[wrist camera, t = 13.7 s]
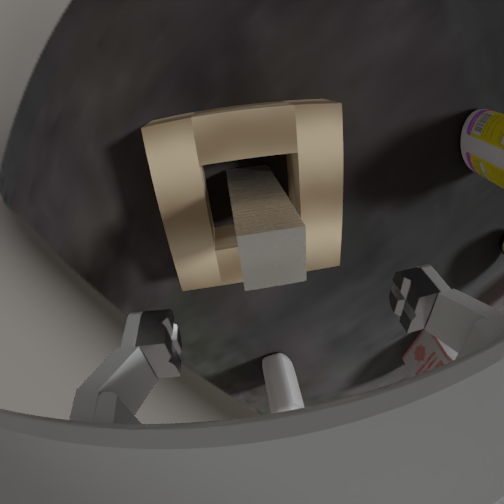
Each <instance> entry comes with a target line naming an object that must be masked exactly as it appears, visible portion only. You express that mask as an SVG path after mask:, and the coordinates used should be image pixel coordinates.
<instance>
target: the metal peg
mask: <svg viewBox="0 0 504 504" xmlns="http://www.w3.org/2000/svg"><path fill="white" fill-rule="evenodd" d="M226 174H227V181H228V188H229V195H230V202H231V208H232V215H233V221H234V227H235V233H236V239H237V246H238V252H239V258H240V264H241V270H242V276H243V282H244V288H245V291H248V290H255V289H261V288H267V287H273V286H279V285H285V284H291V283H296V282H302V281H306V226H305V224H304V222H303V221H302V219H301V217H300V216H299V214H298V212H297V211H296V209H295V208H294V206H293V204H292V203H291V201H290V199H289V198H288V196H287V195H286V193H285V191H284V190H283V188H282V187H281V185H280V183H279V182H278V180H277V179H276V177H275V176H274V174H273V172H272V171H271V169H270V168H269V166H268V165H267V164H262V165H254V166H247V167H240V168H233V169H226Z"/></svg>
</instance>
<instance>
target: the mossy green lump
mask: <svg viewBox="0 0 504 504" xmlns="http://www.w3.org/2000/svg"><path fill="white" fill-rule="evenodd" d="M500 250H501V252H502V254H503V255H504V235H503V237H502V239H501V241H500Z"/></svg>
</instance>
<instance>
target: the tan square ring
mask: <svg viewBox="0 0 504 504" xmlns="http://www.w3.org/2000/svg"><path fill="white" fill-rule="evenodd" d="M141 131H142V136H143V141H144V145H145V150H146V155H147V159H148V164H149V168H150V173H151V177H152V181H153V185H154V190H155V194H156V198H157V202H158V206H159V210H160V213H161V217H162V221H163V225H164V229H165V232H166V236H167V240H168V243H169V247H170V250H171V254H172V257H173V261H174V264H175V268H176V271H177V274H178V278H179V281H180V284H181V287H182V291H186V290H193V289H200V288H207V287H213V286H220V285H226V284H233V283H239V282H243V276H242V270H241V264H240V258H239V252H238V246H237V239H236V233H235V227H234V224H231V225H225V226H219V227H214V223H213V217H212V212H211V207H210V201H209V195H208V190H207V184H206V178H205V173H204V167H203V165H208V164H214V163H220V162H227V161H233V160H240V159H248V158H255V157H263V156H271V155H280V154H286V160H287V174H288V190H289V199H290V201H291V203H292V204H293V206H294V208H295V209H296V211H297V212H298V214H299V216H300V217H301V219H302V221H303V222H304V224H305V226H306V271H311V270H317V269H323V268H328V267H334V266H339V265H340V253H341V235H342V210H343V122H342V103H339V102H334V101H330V100H325V99H308V100H290V101H276V102H265V103H255V104H246V105H238V106H230V107H223V108H216V109H210V110H204V111H198V112H192V113H187V114H181V115H176V116H171V117H166V118H162V119H157V120H153V121H151V122H149V123H148V124H146V125H145V126H143V127H142V128H141Z"/></svg>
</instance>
